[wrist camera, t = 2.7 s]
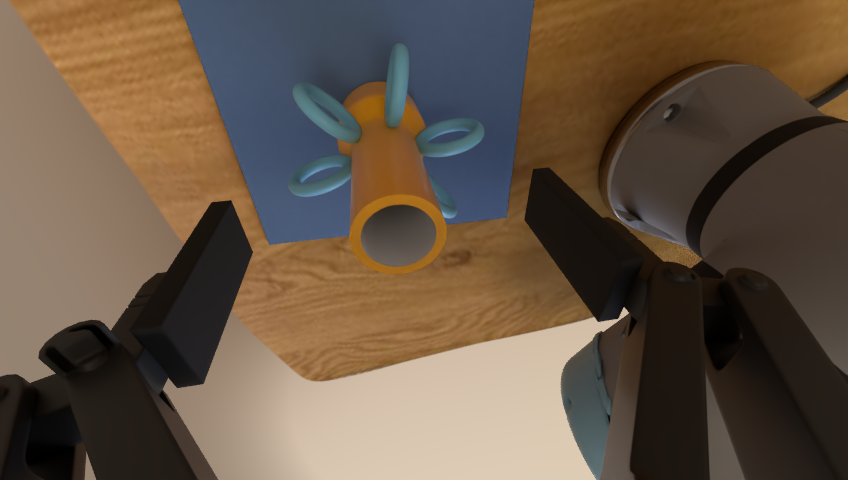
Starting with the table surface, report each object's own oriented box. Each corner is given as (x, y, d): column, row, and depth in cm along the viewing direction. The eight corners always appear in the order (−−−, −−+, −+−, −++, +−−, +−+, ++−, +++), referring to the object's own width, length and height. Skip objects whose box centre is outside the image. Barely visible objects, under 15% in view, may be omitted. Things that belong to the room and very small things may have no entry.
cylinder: (483, 121, 27) (580, 226, 15) (397, 211, 31) (423, 353, 19) (355, -8, 21) (354, 1, 9) (268, 122, 25) (187, 248, 13)
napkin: (539, -55, 22) (541, -56, 21) (505, 216, 34) (506, 217, 33) (163, -44, 19) (161, -45, 19) (269, 242, 31) (269, 244, 31)
